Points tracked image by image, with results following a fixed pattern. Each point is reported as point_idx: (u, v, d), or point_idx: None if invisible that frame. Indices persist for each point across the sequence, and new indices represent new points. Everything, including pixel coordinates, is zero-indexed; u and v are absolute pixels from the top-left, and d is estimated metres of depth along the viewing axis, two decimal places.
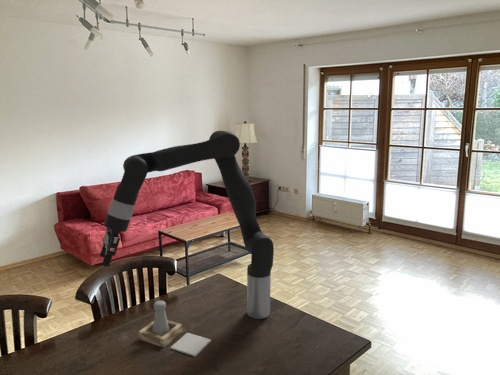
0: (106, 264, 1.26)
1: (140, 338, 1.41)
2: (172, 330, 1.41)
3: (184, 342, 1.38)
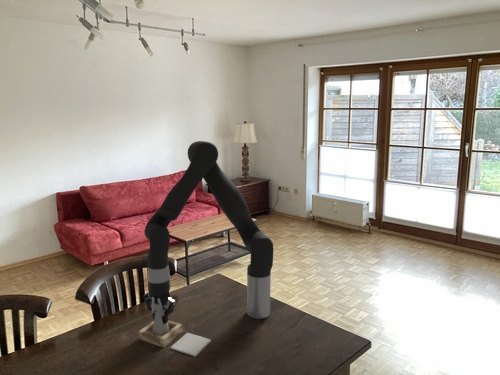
0: (166, 322, 1.41)
1: (140, 338, 1.41)
2: (172, 330, 1.41)
3: (184, 342, 1.38)
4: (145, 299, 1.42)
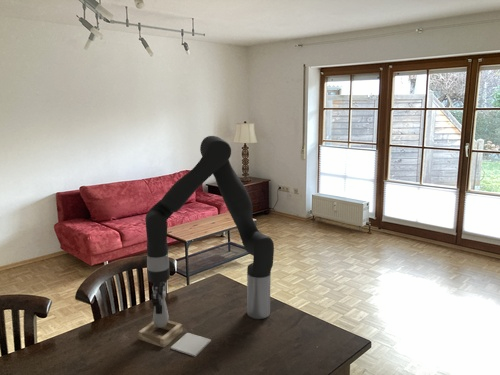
0: (158, 313, 1.39)
1: (140, 338, 1.41)
2: (172, 330, 1.41)
3: (184, 342, 1.38)
4: None
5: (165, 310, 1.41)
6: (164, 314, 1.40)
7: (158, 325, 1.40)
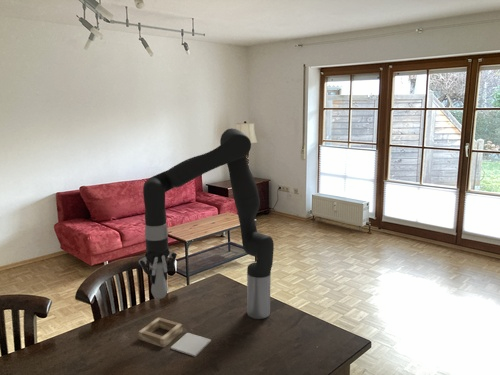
0: (151, 282, 1.38)
1: (140, 338, 1.41)
2: (172, 330, 1.41)
3: (184, 342, 1.38)
4: None
5: (158, 283, 1.37)
6: (156, 286, 1.37)
7: (153, 294, 1.39)
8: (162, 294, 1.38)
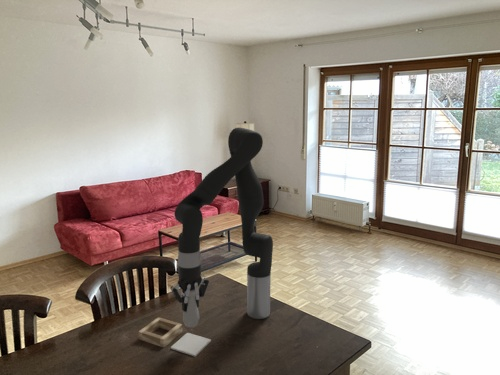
0: (183, 310, 1.34)
1: (140, 338, 1.41)
2: (172, 330, 1.41)
3: (184, 342, 1.38)
4: None
5: (191, 311, 1.33)
6: (188, 314, 1.33)
7: (184, 323, 1.35)
8: (194, 322, 1.34)
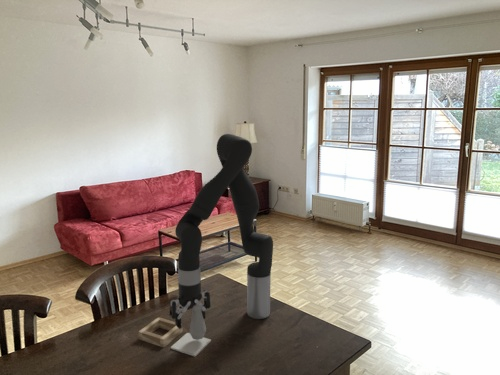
0: None
1: (140, 338, 1.41)
2: (172, 330, 1.41)
3: (184, 342, 1.38)
4: None
5: (197, 324, 1.36)
6: (195, 327, 1.36)
7: (191, 335, 1.38)
8: (201, 335, 1.36)
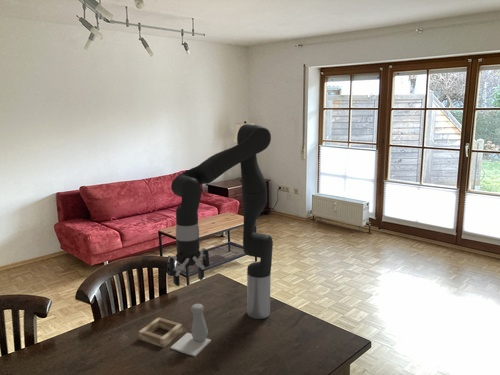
0: (174, 283, 1.30)
1: (140, 338, 1.41)
2: (172, 330, 1.41)
3: (184, 342, 1.38)
4: None
5: (199, 327, 1.37)
6: (197, 330, 1.37)
7: None
8: (203, 337, 1.38)
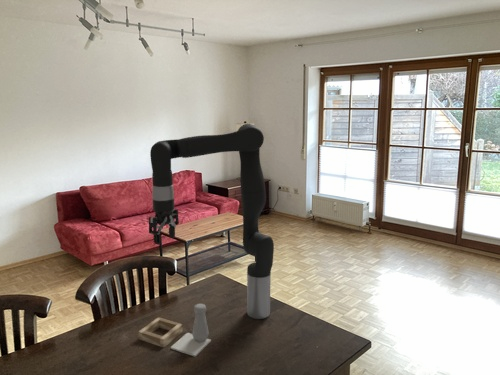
0: (155, 242, 1.40)
1: (140, 338, 1.41)
2: (172, 330, 1.41)
3: (184, 342, 1.38)
4: None
5: (200, 327, 1.37)
6: (198, 330, 1.37)
7: (194, 338, 1.39)
8: (203, 338, 1.38)
